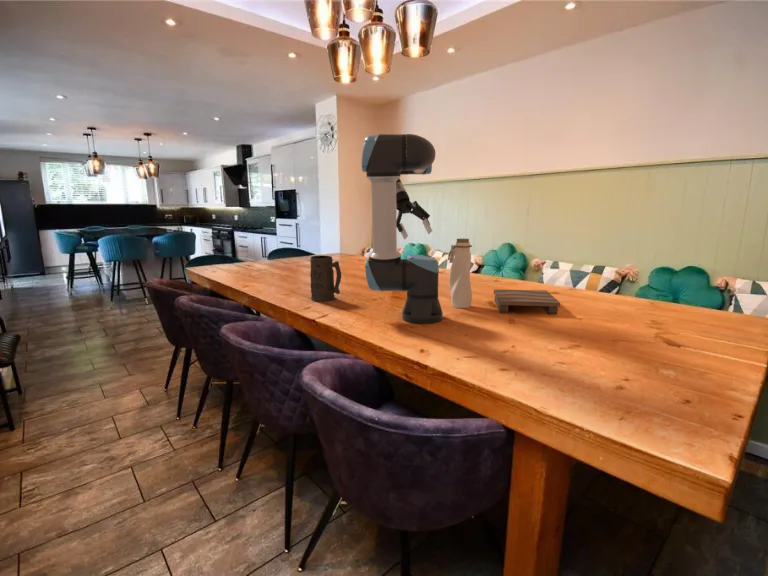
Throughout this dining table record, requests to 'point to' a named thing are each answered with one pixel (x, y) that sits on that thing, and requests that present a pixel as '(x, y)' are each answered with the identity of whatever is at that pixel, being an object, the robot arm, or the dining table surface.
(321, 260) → the beer stein
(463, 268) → the water bottle
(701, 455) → the dining table surface
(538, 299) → the wooden riser
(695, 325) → the dining table surface
